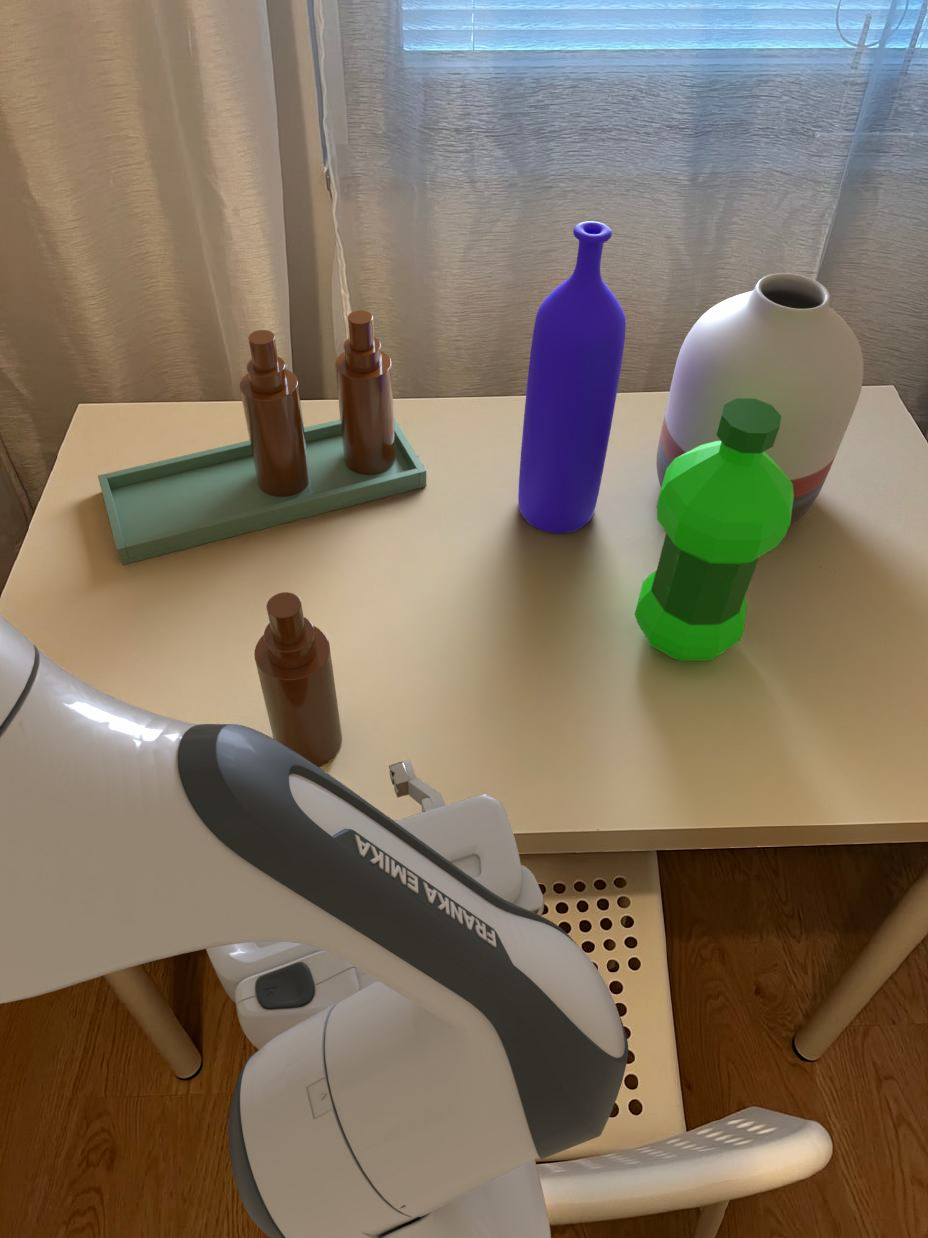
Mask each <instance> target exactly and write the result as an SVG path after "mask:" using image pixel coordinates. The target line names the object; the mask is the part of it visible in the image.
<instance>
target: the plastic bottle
mask: <svg viewBox="0 0 928 1238" xmlns="http://www.w3.org/2000/svg"><path fill="white" fill-rule="evenodd" d="M780 421H781V415H780V414H779V413H778V412H777V411H776V409H775V408H774V407H773V406H772V405H770V404H767V403H765V402H762V401H760V400H757V399H752V398H736V399H734V400H732V401H730V402H728V403H726V404H724V408H723V411H722V415H721V418H720V422H719V425H718V430H717V434H716V435H717V436H718V438H719V439H720V440H721V441H715V442H711V443H707V444H703V445H700V446H698V447H696V448H694V449H692V450H690V451H688V452H686V453H684V454H682V455H681V456H679V457H677V458H675V459H674V460H673V461H672V463H671V464H670V465H669V466H668V467H667V469H666V473H665V476H664V480H663V484H662V487H661V486H660V491H659V496H658V498H657V499H658V500H657V504H656V519H657V521H658V522H659V524H660V525H661V527H662V528H663V530H664V531H665V535H664V536H665V537H664V540H663V544H662V548H661V552H660V556H659V560H658V564H657V567H656V570H654V571H653V572H652V573H651V574H649V575H648V576H647V577H646V578H645V579H644V580H643V581H642V585H641V587H640V592H639V595H638V599H637V604H636V607H635V610H634V617H635V619H636V623H637V624H638V626H639V628H640V629H641V631H642V633H643V635H644V637H645V638H646V640H647V642H648V643H649V645H650V646H651V647H653V649H655V650H657V651H659V652H661V653H663V654H665V655H666V656H669V657H670V658H672V659H673V660H676V661H681V662H683V661H684V662H686V661H687V662H708V661H713V660H714V659H715V658H717V657H719V656H720V655H721V654H723V653H724V652H726V651H728V650H729V649H731V648H732V647H734V646H735V645H736V644H737V643H739V642H740V641H741V640H742V637H743V634H744V632H745V625H746V617H747V612H748V602H747V597H746V594H747V591H748V589H749V586H750V583H751V580H752V578H753V575H754V572H755V571H756V567H757V564H758V561H759V559H760V558H761V557H762V556H764V555H766V554H767V553H769V552H770V551H772V550H773V549H775V548H777V547H778V546H779V545H780V543H781V542H782V541H783V539H784V538H785V537H786V535H787V533H788V531H789V528H790V526H791V525H790V522H791V514H792V507H793V499H794V493H793V484H792V482H791V481H790V480H789V479H788V477H787V476H786V475H785V474H784V473H783V472H782V470H781V469H780V468H779V467H778V466H777V464H776V463H775V462H774V461H773V460H772V459H771V458H770V457H769V456H768V455H767V454H766V453H765V452H764V451H766V450H768V449H770V448H771V447H773V445H774V442H775V439H776V436H777V433H778V430H779V427H780ZM789 525H790V526H789Z"/></svg>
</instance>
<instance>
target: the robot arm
mask: <svg viewBox="0 0 928 1238" xmlns="http://www.w3.org/2000/svg"><path fill="white" fill-rule="evenodd" d="M388 769H389V779H390V781H391V784H392V785H393V791H394V793H395V796H396V798H397V799H398V798H401V797H404V796H409V797H410V798H412V799H413V800H414V801H415V802H416V803H418V804H419V805H420V806H421V812H419V813H416V814H413V815H410V816H406V817H403V818H400V819H396V820H393V819H392V818H391V817H390V816H388V815H386V814H385V813H384V812H383V811H381V810H380V809H379V808H377V807H375V806H374V805H373V804H371V803H370V802H369V801H367V800H366V799H364V798H363V797H362V796H361V795H359V794H358V793H356V792H354V791H353V790H351V788H349V787H347V785H345V784H344V783H342V782H341V781H339V780H338V779H336V778H335V777H333V776H332V775H330V774H329V773H327V772H326V771H324V770H323V769H322V768H320V767H317V766H316V765H314V764H313V763H311V762H310V761H308V760H307V759H305V758H304V757H302V756H300V755H299V754H297V753H296V752H294V751H292V750H291V749H289V748H288V747H286V746H284V745H283V744H281V743H279V742H278V741H276V740H274V739H273V737H272V736H268V735H267V734H265V733H263V732H261V731H259V730H257V729H255V728H252V727H249V726H246V725H242V724H238V723H237V724H236V723H202V724H197V723H193V722H187V721H183V720H180V719H175V718H172V717H168V716H165V715H162V714H159V713H156V712H152V711H149V710H146V709H144V708H141V707H138V706H135V705H134V704H130V703H128V702H126V701H123V700H121V699H119V698H116V697H115V696H112V695H110V694H108V693H107V692H104V691H102V690H100V689H98V688H97V687H94V686H93V685H90V684H88V683H87V682H85V681H84V680H82V679H80V678H79V677H77V676H75V675H74V674H72V673H70V672H69V671H67V670H66V669H65V668H63V667H62V666H60V665H59V664H57V663H56V662H55V661H54V660H53V659H51V658H50V657H49V656H48V655H47V654H45V653H44V652H43V651H42V650H41V649H40V648H39V647H38V646H37V645H35V644H33V642H32V641H31V640H30V639H29V638H28V637H27V636H26V635H25V634H24V633H22V632H21V631H20V630H19V629H18V628H16V627H15V626H14V625H13V624H12V623H11V622H10V621H9V620H8V619H6V618H5V617H4V616H3V615H2V614H1V613H0V1005H1V1004H7V1003H12V1002H17V1001H23V1000H26V999H31V998H35V997H40V996H42V995H45V994H49V993H53V992H55V991H60V990H63V989H65V988H68V987H72V986H75V985H78V984H81V983H83V982H87V981H91V980H94V979H97V978H100V977H102V976H107V975H110V974H112V973H116V972H119V971H123V970H126V969H130V968H133V967H136V966H140V965H144V964H148V963H151V962H154V961H155V962H156V961H158V960H163V959H167V958H171V957H174V956H175V957H176V956H180V955H183V954H188V953H192V952H197V951H201V950H206V953H207V955H208V958H209V961H210V962H211V964H212V967H213V969H214V972H215V974H216V976H217V978H218V980H219V982H220V984H221V986H222V988H223V989H224V992H225V993H226V994H227V996H228V998H230V1000H231V1001H233V1003H235V1009H236V1015H237V1018H238V1019H237V1020H238V1023H239V1025H240V1027H241V1030H242V1032H243V1033H244V1035H245V1036H246V1038H247V1040H249V1042H250V1043H251V1044H252V1045H253V1046H254V1047H255V1048H256V1049H257V1051H255V1052H253V1053H251V1054H250V1056H248V1057H247V1058H246V1060H245V1062H244V1064H243V1065H242V1068H241V1070H240V1072H239V1075H238V1077H237V1079H236V1082H235V1084H234V1089H233V1092H232V1096H231V1100H230V1105H229V1111H228V1113H229V1114H228V1126H227V1127H228V1128H227V1132H228V1133H227V1134H228V1135H227V1136H228V1151H229V1159H230V1166H231V1170H232V1175H233V1179H234V1183H235V1186H236V1189H237V1192H238V1195H239V1198H240V1200H241V1203H242V1205H243V1207H244V1209H245V1211H246V1213H247V1215H248V1216H249V1217H250V1219H251V1221H253V1223H254V1224H255V1225H256V1226H257V1227H258V1228H259V1229H260V1230H261V1231H262V1232H263V1233H264V1234H265V1235H266V1236H267V1237H268V1238H552V1234H551V1227H550V1226H551V1225H550V1220H549V1215H548V1214H549V1213H548V1209H547V1205H546V1199H545V1194H544V1190H543V1186H542V1181H541V1178H540V1173H539V1170H538V1166H537V1163H536V1159H538V1158H540V1159H541V1160H544V1159H546V1158H549V1157H552V1156H554V1155H557V1154H559V1153H561V1152H563V1151H566V1150H569V1149H571V1148H574V1147H576V1146H579V1145H581V1144H584V1143H586V1142H589V1141H591V1140H594V1139H596V1138H599V1137H600V1136H602V1133H603V1131H604V1129H605V1127H606V1125H607V1123H608V1121H609V1119H610V1116H611V1114H612V1111H613V1109H614V1106H615V1103H616V1101H617V1098H618V1095H619V1093H620V1090H621V1086H622V1083H623V1080H624V1076H625V1072H626V1068H627V1063H628V1058H629V1040H628V1037H627V1034H626V1030H625V1026H624V1023H623V1020H622V1018H621V1015H620V1013H619V1011H618V1008H617V1005H616V1002H615V999H614V998H613V995H612V994H611V991H610V989H609V987H608V985H607V983H606V981H605V980H604V978H603V976H602V974H601V972H600V971H599V970H598V968H597V966H596V965H595V964H594V962H593V961H592V959H590V957H589V956H588V954H586V952H585V951H584V950H583V949H582V948H581V947H580V946H579V944H577V942H576V941H575V940H574V939H573V938H572V937H571V936H570V935H569V934H568V933H567V932H566V931H565V930H564V929H562V927H560V926H559V925H558V924H556V923H555V922H553V921H551V920H550V919H548V918H546V917H544V916H543V914H544V910H545V898H544V894H543V891H542V890H541V887H540V885H539V882H538V880H537V878H536V876H535V875H534V873H533V872H532V871H531V870H530V869H529V868H528V867H527V866H525V865H523V864H522V862H521V858H520V853H519V849H518V844H517V841H516V837H515V834H514V831H513V827H512V823H511V821H510V818H509V815H508V812H507V810H506V808H505V806H504V804H503V802H502V801H500V800H499V799H497V798H496V797H494V796H491V795H490V794H488V793H482V794H481V793H480V794H479V795H474V796H472V797H468V798H465V799H461V800H458V801H455V802H452V803H449V804H445V800H444V799H443V795H442V793H441V792H440V791H438V790H437V789H435V788H434V787H432V786H431V785H430V784H428V783H427V782H425V781H424V780H423V779H422V778H420V777H417V774H416V772H415V770H414V766H413V764H412V762H411V760H410V759H406V760H404V761H399V762H396V763H392V764H389V765H388Z"/></svg>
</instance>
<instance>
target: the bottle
mask: <svg viewBox="0 0 928 1238" xmlns="http://www.w3.org/2000/svg"><path fill="white" fill-rule="evenodd" d="M572 232H573V236H574V237H575V238H576V240H578V249H577V257H576V262H575V267H574V270H573V272H572V274H571V275H570V277H568V278H567V279H566V280H565V281H563V282H562V283H561V284H559V285H558V286H557V287H556V288H555V289H553V291H551V292H550V294H548V295H547V297H546V298H545V299H543V301H542V303H541V304H540V305H539V308H538V309H537V312H536V315H535V320H534V326H533V330H532V337H531V345H530V351H529V353H530V354H529V362H528V363H529V364H528V372H527V382H526V392H525V402H524V413H523V425H522V435H521V445H520V446H521V447H520V448H521V449H520V460H519V474H518V475H519V476H518V495H517V498H518V501H517V502H518V509H519V512H520V515H521V516H522V517H523V518H524V520H525V521H526V522H527V523H528V524H529V525H530V526H532V527H534V528H535V529H537V530H539V531H543V532H545V533H550V534H568V533H569V534H570V533H572V532H576V531H577V530H580V529H581V528H583V527H584V526H586V525H587V524H588V523H589V522H590V520H591V519H592V517H593V515H594V513H595V509H596V507H597V502H598V498H599V493H600V488H601V483H602V478H603V474H604V473H603V472H604V469H605V462H606V458H607V452H608V447H609V442H610V435H611V430H612V424H613V418H614V413H615V406H616V401H617V394H618V388H619V382H620V376H621V370H622V363H623V357H624V349H625V348H624V347H625V341H626V328H627V325H626V315H625V312H624V310H623V308H622V306H621V303H620V302H619V300H618V299H617V298H616V296H615V295H614V293H613V292H612V291H611V289H610V287H609V286H608V285H607V283H605V281H604V280H603V277H602V274H601V263H602V256H603V248H604V244H605V243H606V242H608V241H609V240H610V239H611V238H612V235H613V231H612V229H611V228H610V226H608V224H607V225H606V224H605V223H603V222H599V221H594V220H593V221H592V220H591V221H589V220H588V221H582V222H580V223H578V224H576V225H575V226H574V228H573V231H572Z"/></svg>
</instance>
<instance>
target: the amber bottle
mask: <svg viewBox="0 0 928 1238" xmlns="http://www.w3.org/2000/svg"><path fill="white" fill-rule="evenodd" d="M266 612H267V618H268V623H267V625H266V627H265V628H264V632H263V634H262V635H261V636H260V638H259V639H258V641H257V643H256V645H255V647H254V653H253V654H254V661H255V665H256V670H257V674H258V679H259V682H260V687H261V691H262V696H263V700H264V704H265V709H266V712H267V717H268V721H269V725H270V730H271V735H272V739H274V740H276V741H278V742H279V743H281V744H283V745H284V746H286V747H288V748H289V749H291V750H292V751H294V752H296V753H297V754H299V755H300V756H302V757H304V758H305V759H307V760H308V761H310V762H311V763H313V764H314V765H316V766H317V767H319V768H320V767H322V766H324V765H326V764H328V763H329V762H331V761H332V760H333V759H334V758H335V757H336V756H337V754H338V752H339V751H340V749H341V746H342V743H343V735H342V728H341V720H340V713H339V704H338V698H337V697H338V696H337V690H336V684H335V675H334V674H335V673H334V668H333V667H334V666H333V660H332V653H331V652H332V651H331V645H330V642H329V639H328V637H327V636H326V634H325V633H324V632H323V630H321V629H320V628H318V627H316V626H315V625H313V623H312V622H311V621H310V620H309V618H307V617H305V616H304V611H303V605H302V600H301V598H300V597H299V596H298V595H297V594H295V593H292V592H287V591H285V592H283V591H282V592H279V593H277V594H274V595H273V596H271V597H270V598H269V599H268V601H267V603H266Z"/></svg>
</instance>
